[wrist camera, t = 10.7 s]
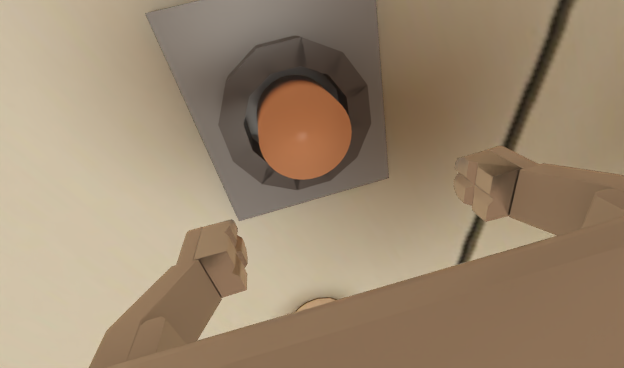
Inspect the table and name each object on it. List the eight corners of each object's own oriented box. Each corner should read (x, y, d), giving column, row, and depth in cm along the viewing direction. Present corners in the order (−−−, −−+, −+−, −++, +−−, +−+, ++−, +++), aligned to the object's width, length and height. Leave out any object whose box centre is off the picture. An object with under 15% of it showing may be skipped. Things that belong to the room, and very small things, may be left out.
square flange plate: (366, -39, 18) (390, -51, 15) (384, 172, 26) (401, 192, 23) (150, 13, 17) (129, 12, 14) (239, 214, 26) (238, 240, 23)
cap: (324, 65, 20) (345, 78, 15) (336, 138, 23) (356, 166, 18) (246, 85, 19) (245, 104, 15) (269, 156, 22) (273, 189, 18)
